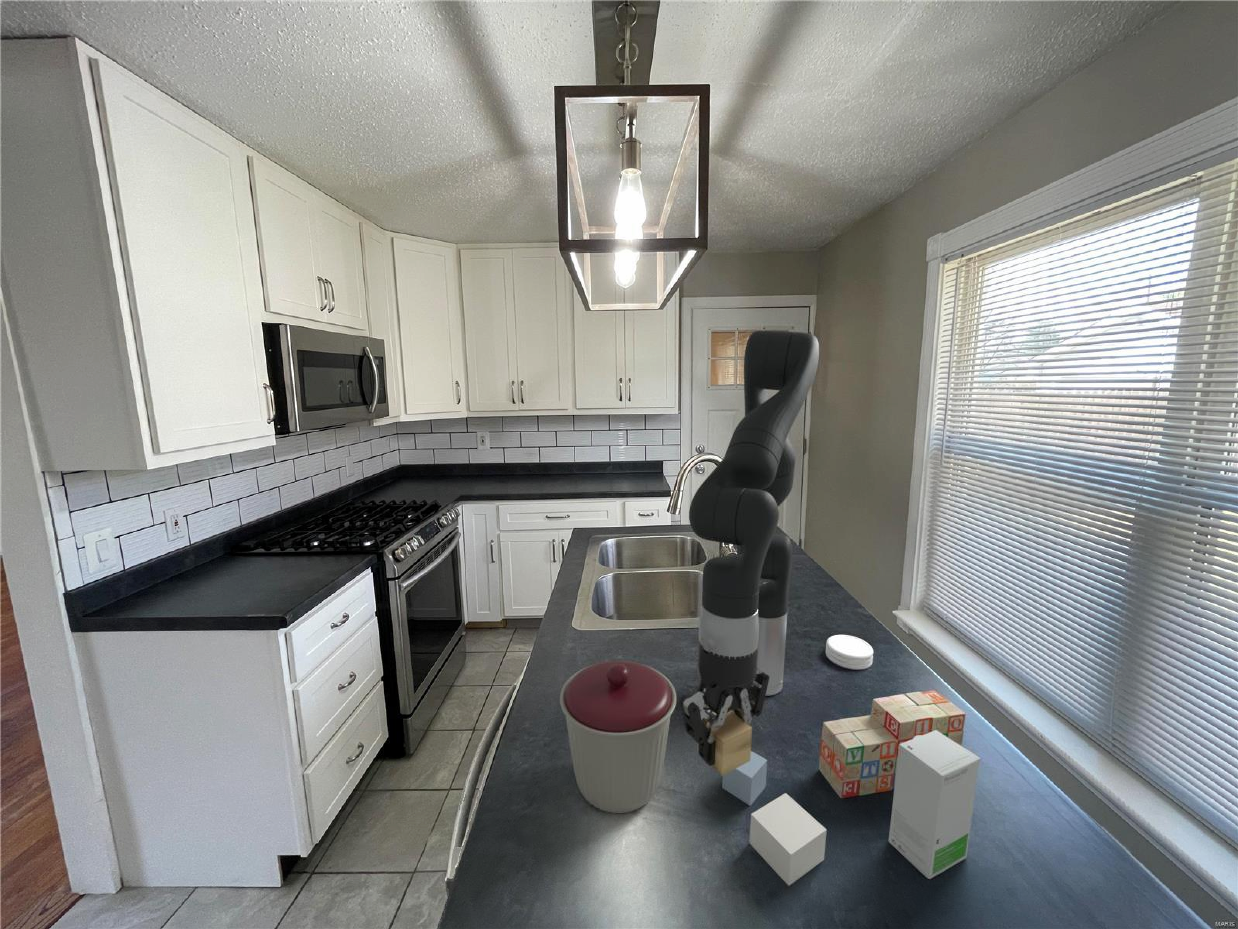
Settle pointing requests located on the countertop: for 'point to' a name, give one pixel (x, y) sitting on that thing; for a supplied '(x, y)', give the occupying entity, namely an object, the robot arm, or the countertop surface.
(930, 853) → the skincare box
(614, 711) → the canister
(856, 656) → the white thick disc
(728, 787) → the slate cube
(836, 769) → the stack of blocks
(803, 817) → the base block
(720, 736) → the maple cube
